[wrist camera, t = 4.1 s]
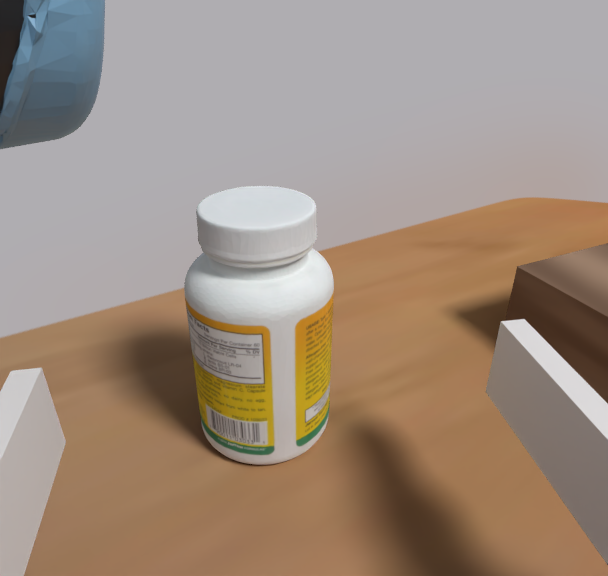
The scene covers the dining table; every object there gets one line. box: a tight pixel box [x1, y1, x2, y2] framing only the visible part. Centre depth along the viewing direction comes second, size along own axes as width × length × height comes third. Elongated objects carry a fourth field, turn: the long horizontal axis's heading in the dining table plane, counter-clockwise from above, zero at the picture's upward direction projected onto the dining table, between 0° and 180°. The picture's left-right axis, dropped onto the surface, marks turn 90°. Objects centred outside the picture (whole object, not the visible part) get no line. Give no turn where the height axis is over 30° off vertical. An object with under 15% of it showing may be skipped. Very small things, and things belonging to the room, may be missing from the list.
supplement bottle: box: [184, 186, 334, 465], centre depth 19 cm, size 5×5×10 cm
